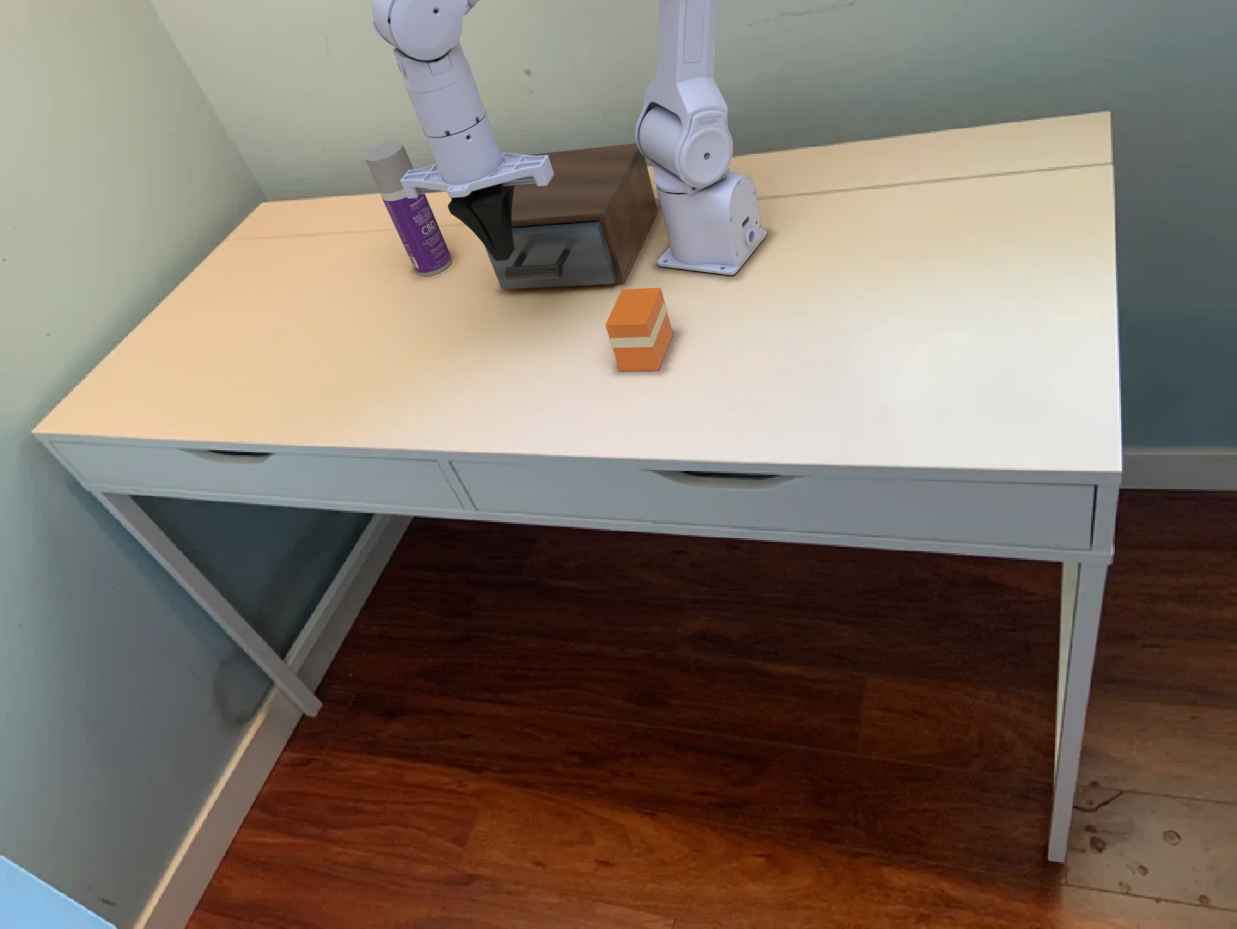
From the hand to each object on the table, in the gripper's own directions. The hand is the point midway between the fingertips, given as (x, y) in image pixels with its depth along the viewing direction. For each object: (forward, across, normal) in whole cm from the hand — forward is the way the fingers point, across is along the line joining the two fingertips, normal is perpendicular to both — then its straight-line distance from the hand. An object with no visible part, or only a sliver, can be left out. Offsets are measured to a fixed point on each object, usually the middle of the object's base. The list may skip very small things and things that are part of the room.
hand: (505, 254), depth 93 cm
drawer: (+9, 0, +12) cm, 15 cm away
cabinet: (+10, 0, +16) cm, 19 cm away
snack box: (+10, +13, -3) cm, 17 cm away
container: (+10, -19, +15) cm, 26 cm away
